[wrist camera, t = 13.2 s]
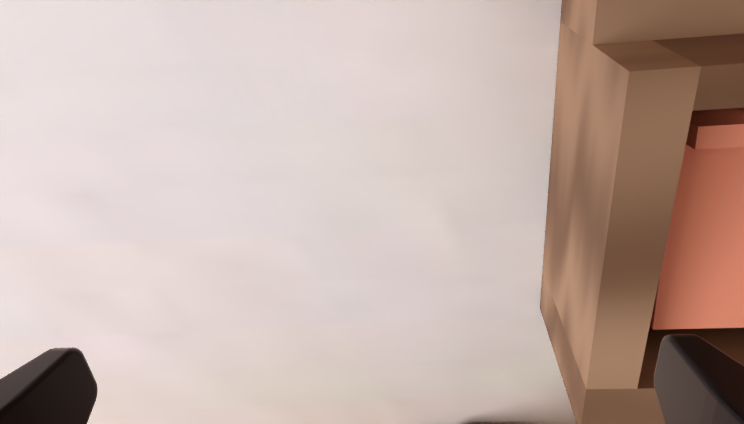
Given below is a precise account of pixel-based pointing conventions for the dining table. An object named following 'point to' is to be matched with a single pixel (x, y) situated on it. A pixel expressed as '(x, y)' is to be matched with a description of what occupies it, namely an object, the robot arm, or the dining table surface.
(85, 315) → the dining table surface
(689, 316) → the lever
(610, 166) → the brown wooden lever base
